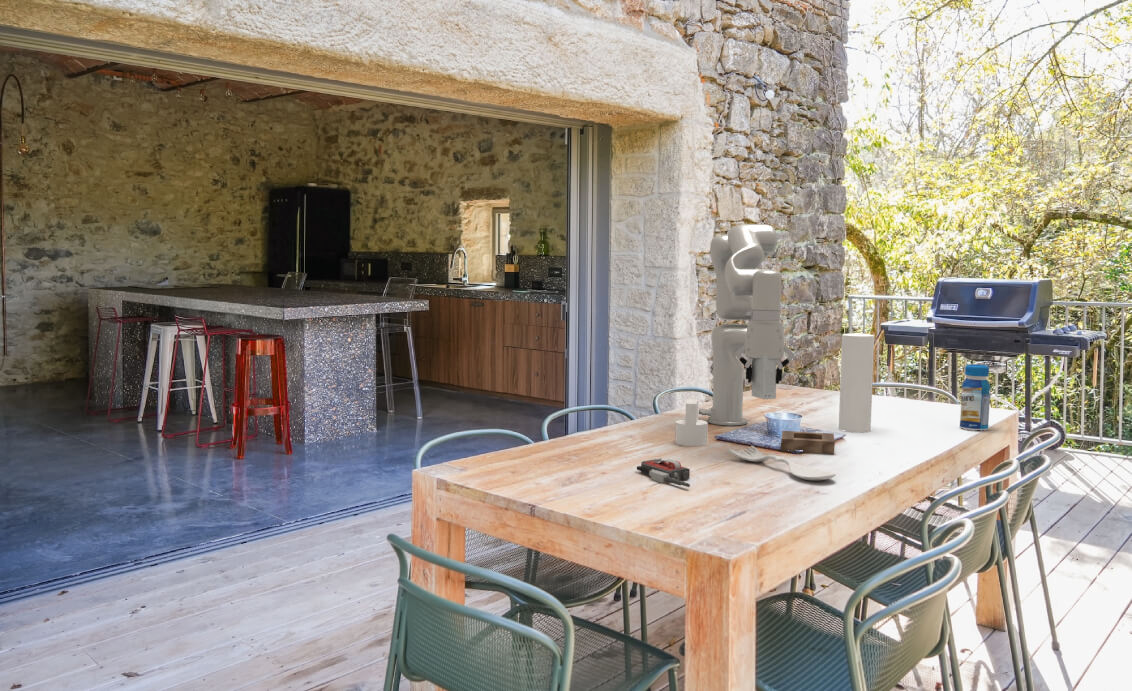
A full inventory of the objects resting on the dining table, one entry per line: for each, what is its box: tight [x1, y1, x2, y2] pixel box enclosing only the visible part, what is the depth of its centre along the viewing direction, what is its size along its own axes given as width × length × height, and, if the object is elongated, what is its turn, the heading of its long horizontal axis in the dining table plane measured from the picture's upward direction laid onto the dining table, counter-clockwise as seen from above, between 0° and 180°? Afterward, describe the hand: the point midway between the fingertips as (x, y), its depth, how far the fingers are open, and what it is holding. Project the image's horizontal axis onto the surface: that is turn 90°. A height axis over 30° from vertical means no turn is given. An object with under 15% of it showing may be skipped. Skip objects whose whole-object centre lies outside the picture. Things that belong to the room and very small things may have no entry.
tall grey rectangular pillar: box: [838, 332, 875, 433], centre depth 272 cm, size 9×9×30 cm
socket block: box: [780, 430, 836, 456], centre depth 245 cm, size 14×12×4 cm
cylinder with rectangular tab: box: [674, 398, 709, 447], centre depth 252 cm, size 9×9×12 cm
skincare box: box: [751, 354, 777, 400], centre depth 238 cm, size 6×4×12 cm
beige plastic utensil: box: [726, 445, 837, 482], centre depth 220 cm, size 9×32×4 cm, turn 30°
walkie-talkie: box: [636, 457, 691, 488], centre depth 210 cm, size 9×4×20 cm
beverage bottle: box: [959, 364, 992, 432], centre depth 276 cm, size 8×8×20 cm
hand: (763, 382), depth 238 cm, fingers closed on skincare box, 6 cm apart
